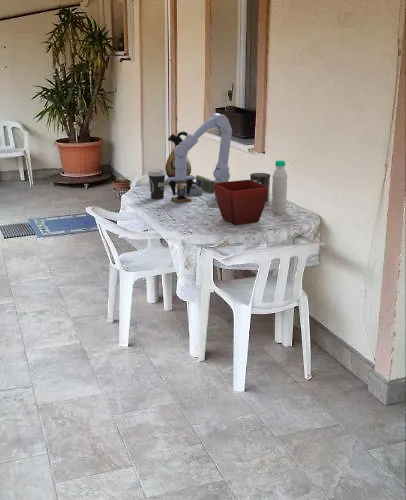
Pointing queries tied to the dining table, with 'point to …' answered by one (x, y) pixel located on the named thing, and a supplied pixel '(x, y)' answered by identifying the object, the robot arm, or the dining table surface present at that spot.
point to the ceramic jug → (171, 159)
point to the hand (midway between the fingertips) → (181, 194)
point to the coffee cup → (157, 183)
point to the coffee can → (262, 181)
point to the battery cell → (180, 192)
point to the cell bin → (193, 191)
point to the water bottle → (279, 188)
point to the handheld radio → (204, 183)
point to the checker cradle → (181, 200)
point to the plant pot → (241, 201)
